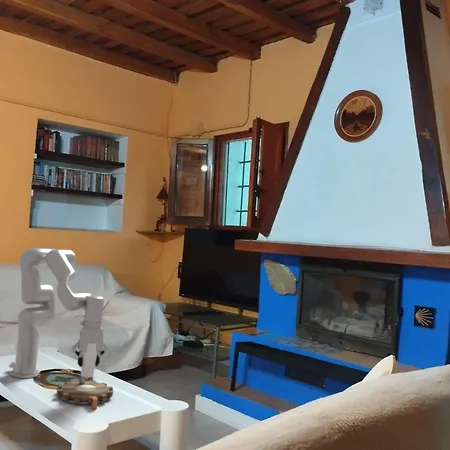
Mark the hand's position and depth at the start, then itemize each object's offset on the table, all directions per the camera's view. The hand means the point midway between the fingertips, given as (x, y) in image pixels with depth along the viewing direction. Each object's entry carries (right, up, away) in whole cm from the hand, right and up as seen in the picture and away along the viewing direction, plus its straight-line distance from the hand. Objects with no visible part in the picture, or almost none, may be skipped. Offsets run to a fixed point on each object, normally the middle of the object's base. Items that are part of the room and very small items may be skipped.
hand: (88, 365), depth 226 cm
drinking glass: (0, -5, 0) cm, 5 cm away
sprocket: (-1, -12, 0) cm, 12 cm away
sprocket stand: (-2, -13, 0) cm, 13 cm away
